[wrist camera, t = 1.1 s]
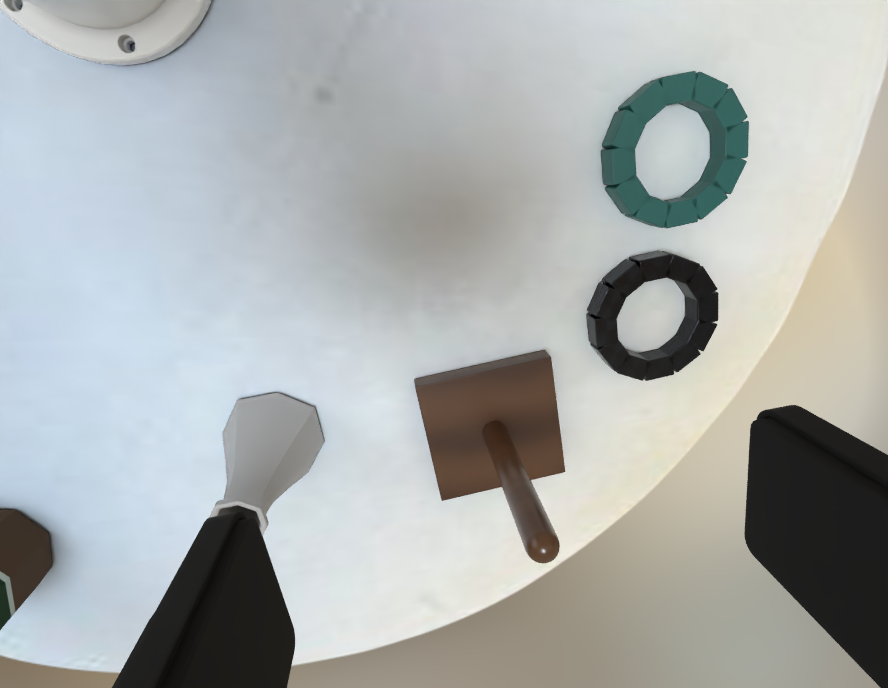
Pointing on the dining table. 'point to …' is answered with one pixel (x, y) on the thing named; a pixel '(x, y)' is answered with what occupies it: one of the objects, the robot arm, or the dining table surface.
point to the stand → (497, 437)
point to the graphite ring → (690, 333)
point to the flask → (266, 453)
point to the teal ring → (725, 148)
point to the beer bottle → (20, 560)
